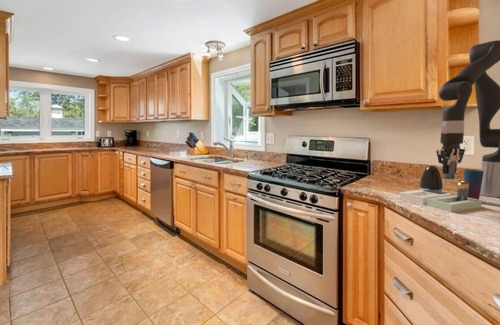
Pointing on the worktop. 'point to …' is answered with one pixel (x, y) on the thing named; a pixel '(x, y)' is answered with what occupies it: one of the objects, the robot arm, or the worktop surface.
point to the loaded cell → (462, 191)
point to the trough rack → (453, 203)
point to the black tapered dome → (431, 179)
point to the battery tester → (422, 195)
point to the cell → (451, 168)
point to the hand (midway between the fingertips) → (449, 173)
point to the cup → (473, 182)
